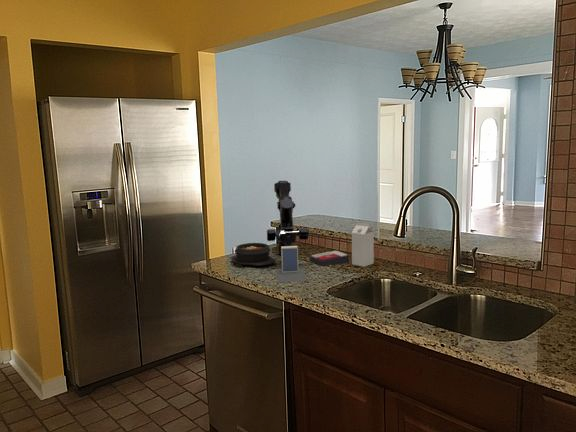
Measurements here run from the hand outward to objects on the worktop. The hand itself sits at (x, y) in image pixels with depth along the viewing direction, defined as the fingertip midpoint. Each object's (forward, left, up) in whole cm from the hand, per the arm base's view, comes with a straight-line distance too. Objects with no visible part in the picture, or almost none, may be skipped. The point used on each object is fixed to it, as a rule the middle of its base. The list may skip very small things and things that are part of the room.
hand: (288, 250), depth 212 cm
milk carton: (+21, +27, -9) cm, 35 cm away
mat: (+7, -7, -9) cm, 13 cm away
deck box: (+3, -3, -8) cm, 10 cm away
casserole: (-22, -1, -9) cm, 24 cm away
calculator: (+6, +22, -10) cm, 24 cm away
